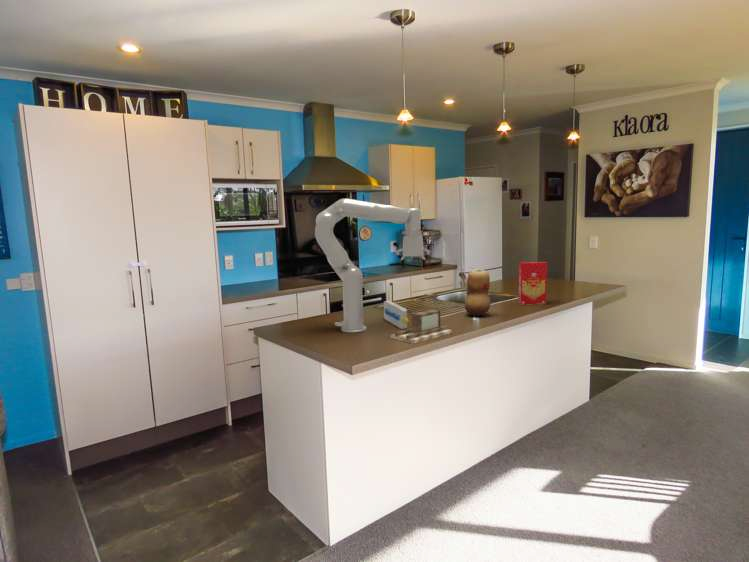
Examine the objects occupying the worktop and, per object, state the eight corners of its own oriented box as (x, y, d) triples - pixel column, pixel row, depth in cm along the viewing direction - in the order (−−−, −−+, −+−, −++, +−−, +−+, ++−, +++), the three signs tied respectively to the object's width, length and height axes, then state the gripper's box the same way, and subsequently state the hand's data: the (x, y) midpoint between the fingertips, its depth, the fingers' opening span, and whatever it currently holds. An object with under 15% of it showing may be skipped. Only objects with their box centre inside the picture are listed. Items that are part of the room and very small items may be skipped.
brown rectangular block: (419, 334, 216) (419, 315, 215) (411, 332, 220) (411, 313, 219) (440, 329, 225) (440, 310, 223) (433, 327, 229) (433, 309, 227)
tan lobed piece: (478, 319, 249) (478, 272, 246) (459, 315, 260) (459, 270, 257) (495, 315, 257) (496, 269, 254) (476, 311, 268) (477, 267, 265)
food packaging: (520, 305, 282) (521, 263, 279) (518, 303, 288) (519, 262, 284) (546, 304, 282) (547, 262, 278) (543, 303, 287) (544, 261, 283)
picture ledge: (412, 343, 207) (411, 337, 207) (390, 337, 218) (390, 331, 218) (452, 333, 223) (452, 326, 223) (431, 328, 234) (431, 322, 234)
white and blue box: (382, 318, 258) (381, 300, 256) (389, 318, 259) (388, 300, 258) (403, 332, 227) (403, 312, 226) (411, 331, 229) (410, 311, 227)
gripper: (395, 234, 233) (395, 268, 235) (430, 233, 231) (430, 268, 234) (395, 233, 240) (396, 267, 243) (430, 232, 239) (430, 266, 241)
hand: (413, 267), depth 238 cm, fingers open, 9 cm apart
